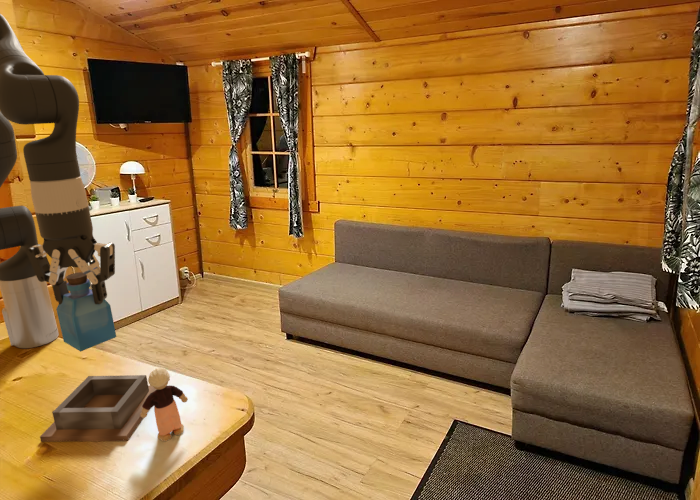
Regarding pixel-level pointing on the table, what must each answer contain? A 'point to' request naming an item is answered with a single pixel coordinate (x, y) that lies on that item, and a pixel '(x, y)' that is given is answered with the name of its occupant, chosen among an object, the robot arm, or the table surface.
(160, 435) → the grandmother figurine
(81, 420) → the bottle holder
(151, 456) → the table surface
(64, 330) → the perfume bottle
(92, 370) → the table surface
